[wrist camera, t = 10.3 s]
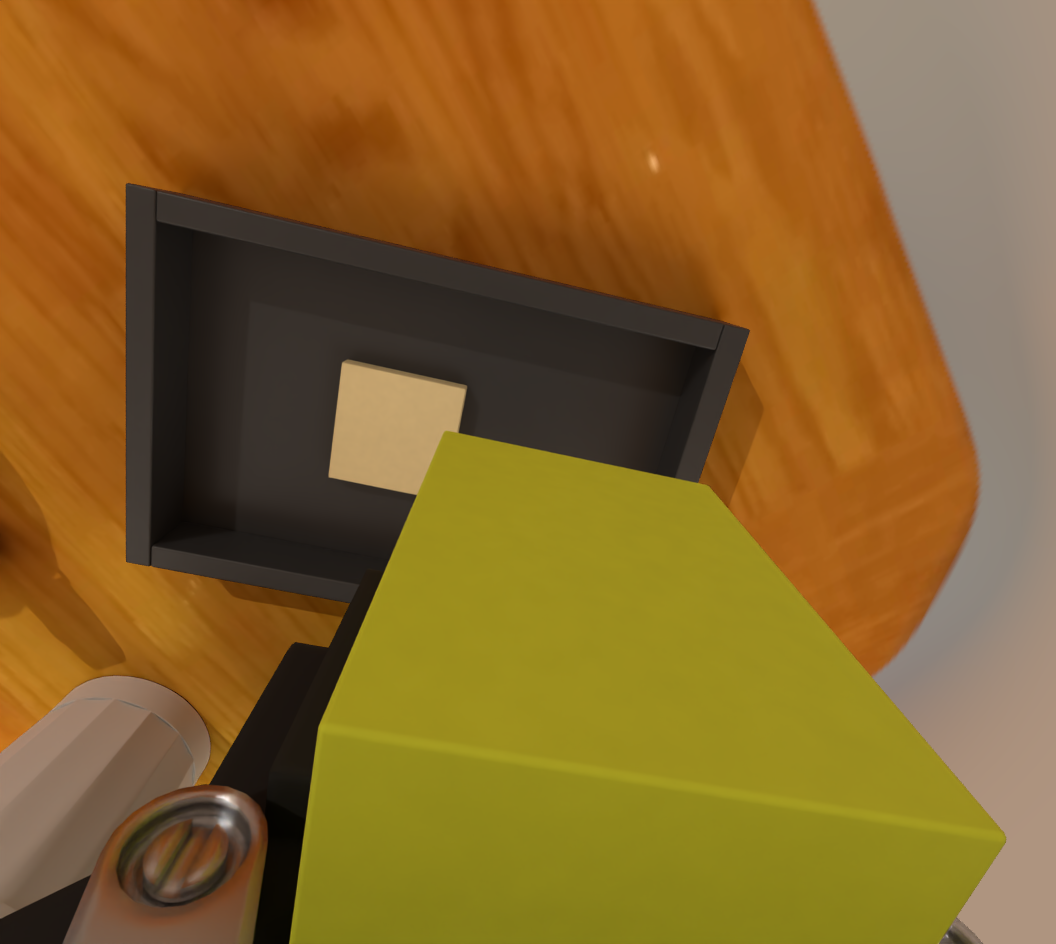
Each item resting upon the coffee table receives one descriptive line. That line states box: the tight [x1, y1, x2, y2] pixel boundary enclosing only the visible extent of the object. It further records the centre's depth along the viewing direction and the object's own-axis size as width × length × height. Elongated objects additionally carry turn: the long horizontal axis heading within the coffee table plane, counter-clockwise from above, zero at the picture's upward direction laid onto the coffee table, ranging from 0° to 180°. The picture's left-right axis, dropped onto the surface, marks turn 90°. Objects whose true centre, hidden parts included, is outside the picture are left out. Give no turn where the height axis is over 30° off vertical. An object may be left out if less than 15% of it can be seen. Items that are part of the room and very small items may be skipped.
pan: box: [126, 183, 750, 603], centre depth 20 cm, size 18×12×3 cm, turn 77°
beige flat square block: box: [329, 359, 467, 495], centre depth 20 cm, size 4×4×1 cm
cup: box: [0, 676, 210, 919], centre depth 20 cm, size 8×8×12 cm
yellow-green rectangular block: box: [289, 431, 1006, 944], centre depth 8 cm, size 4×7×6 cm, turn 167°
